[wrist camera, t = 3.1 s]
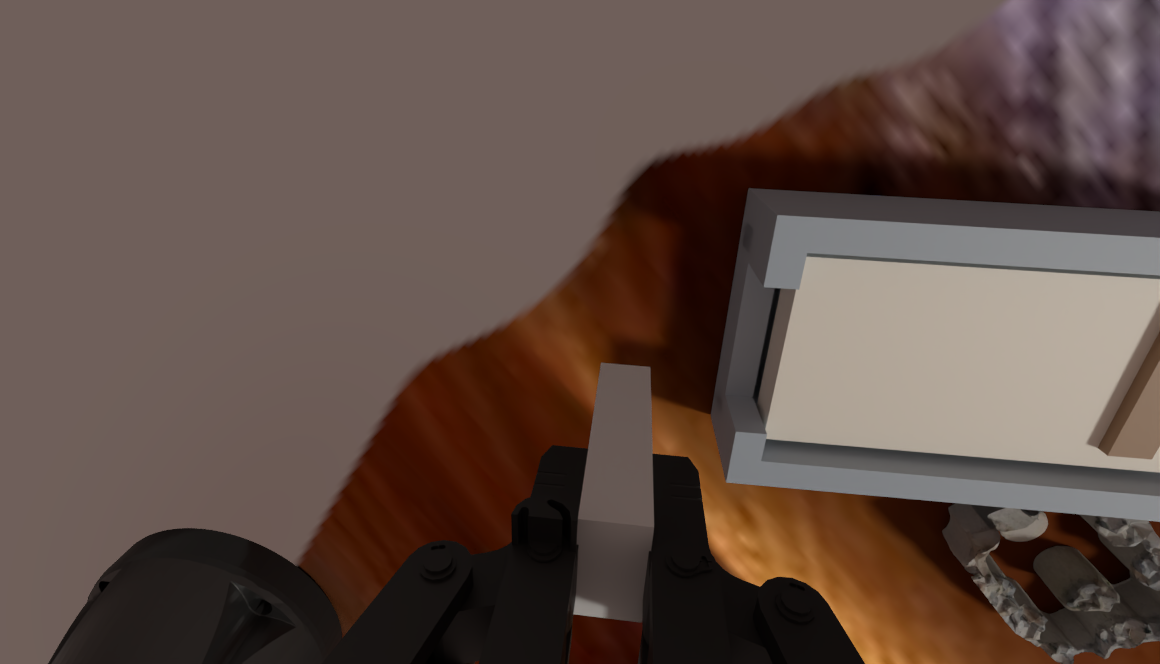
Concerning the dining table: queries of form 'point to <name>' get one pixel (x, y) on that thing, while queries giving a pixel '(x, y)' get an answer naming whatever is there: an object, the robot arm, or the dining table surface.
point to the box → (931, 233)
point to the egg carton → (1065, 580)
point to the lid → (968, 361)
